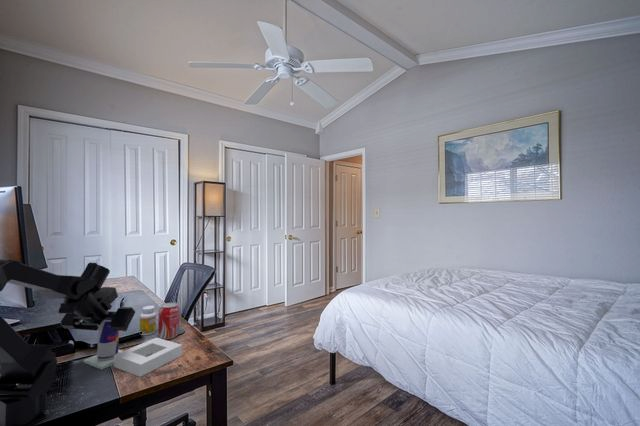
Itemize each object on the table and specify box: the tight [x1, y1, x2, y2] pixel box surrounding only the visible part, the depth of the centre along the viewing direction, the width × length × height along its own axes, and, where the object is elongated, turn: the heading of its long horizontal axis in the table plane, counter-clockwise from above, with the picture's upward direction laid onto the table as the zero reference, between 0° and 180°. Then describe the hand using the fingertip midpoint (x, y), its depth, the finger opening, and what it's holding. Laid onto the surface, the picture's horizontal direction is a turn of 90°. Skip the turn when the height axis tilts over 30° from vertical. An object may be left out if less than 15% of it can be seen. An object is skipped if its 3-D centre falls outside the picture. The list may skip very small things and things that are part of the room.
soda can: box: [157, 301, 180, 341], centre depth 110 cm, size 7×7×12 cm
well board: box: [113, 337, 183, 377], centre depth 92 cm, size 14×12×4 cm
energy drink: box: [96, 320, 120, 361], centre depth 92 cm, size 5×5×12 cm
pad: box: [83, 348, 124, 370], centre depth 92 cm, size 9×9×1 cm
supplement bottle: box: [139, 305, 157, 336], centre depth 113 cm, size 5×5×10 cm
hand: (112, 329), depth 93 cm, fingers open, 9 cm apart
